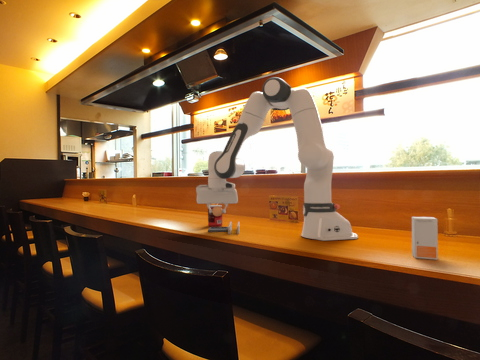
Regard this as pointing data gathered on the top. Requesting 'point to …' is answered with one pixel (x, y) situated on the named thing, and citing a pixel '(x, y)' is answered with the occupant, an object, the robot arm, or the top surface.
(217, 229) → the coaster
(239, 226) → the walls
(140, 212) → the top surface
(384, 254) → the top surface
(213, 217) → the canned food
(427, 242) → the skincare box
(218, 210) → the ball
